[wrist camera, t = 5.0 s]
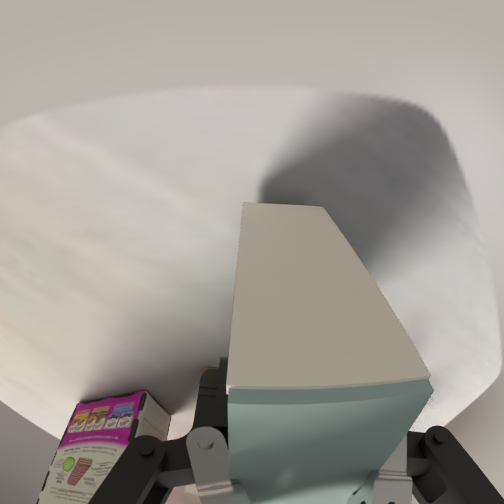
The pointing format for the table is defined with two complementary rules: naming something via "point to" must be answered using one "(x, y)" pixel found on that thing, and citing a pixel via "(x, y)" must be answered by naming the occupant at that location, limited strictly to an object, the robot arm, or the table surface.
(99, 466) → the candy bar box
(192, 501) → the jar
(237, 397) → the book
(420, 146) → the table surface
